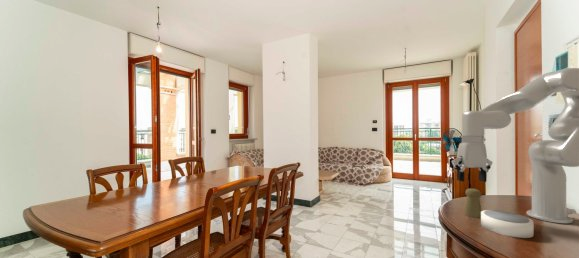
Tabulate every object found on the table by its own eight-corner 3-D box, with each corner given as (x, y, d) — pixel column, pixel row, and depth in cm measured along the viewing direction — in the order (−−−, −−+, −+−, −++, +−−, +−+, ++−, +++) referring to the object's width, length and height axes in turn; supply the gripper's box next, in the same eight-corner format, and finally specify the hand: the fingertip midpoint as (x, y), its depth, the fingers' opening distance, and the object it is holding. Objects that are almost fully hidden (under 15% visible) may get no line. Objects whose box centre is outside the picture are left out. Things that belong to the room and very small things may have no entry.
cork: (477, 213, 102) (477, 187, 102) (485, 218, 96) (485, 191, 96) (461, 212, 103) (461, 186, 103) (468, 217, 97) (468, 190, 97)
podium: (505, 221, 93) (504, 208, 93) (545, 237, 79) (545, 222, 79) (471, 222, 92) (471, 209, 92) (506, 238, 78) (506, 224, 78)
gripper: (484, 140, 104) (482, 179, 104) (446, 139, 103) (445, 178, 103) (500, 141, 96) (499, 183, 96) (460, 140, 95) (458, 182, 95)
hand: (471, 180), depth 100 cm, fingers open, 9 cm apart
